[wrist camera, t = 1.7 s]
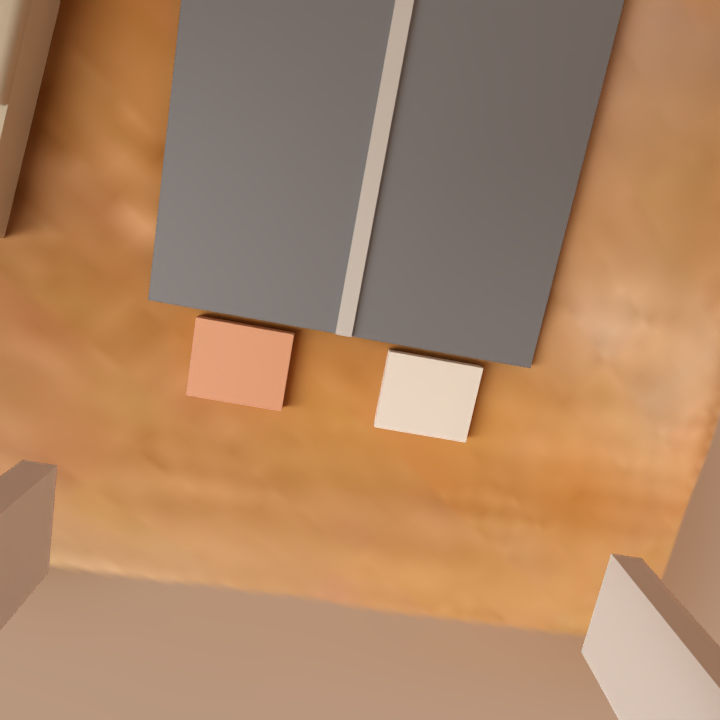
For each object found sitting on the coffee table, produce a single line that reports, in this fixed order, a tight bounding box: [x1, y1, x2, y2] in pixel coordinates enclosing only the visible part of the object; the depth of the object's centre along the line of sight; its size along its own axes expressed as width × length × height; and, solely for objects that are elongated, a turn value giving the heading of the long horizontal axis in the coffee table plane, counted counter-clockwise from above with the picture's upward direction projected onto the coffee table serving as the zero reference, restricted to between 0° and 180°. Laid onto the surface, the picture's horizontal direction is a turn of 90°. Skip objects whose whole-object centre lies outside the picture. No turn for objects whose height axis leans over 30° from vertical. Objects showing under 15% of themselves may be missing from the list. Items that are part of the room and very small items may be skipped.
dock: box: [148, 0, 624, 442], centre depth 36 cm, size 24×30×1 cm
